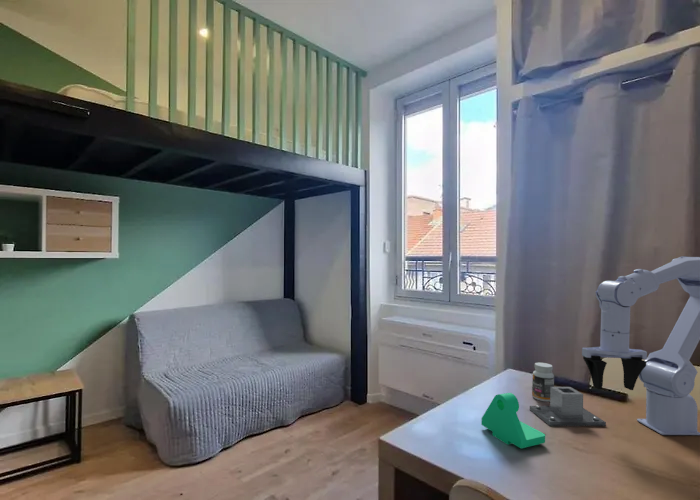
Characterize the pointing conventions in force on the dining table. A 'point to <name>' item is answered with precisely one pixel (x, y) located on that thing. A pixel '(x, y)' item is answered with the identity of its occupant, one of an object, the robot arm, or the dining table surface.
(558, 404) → the grey square socket
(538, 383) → the pill bottle
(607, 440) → the dining table surface
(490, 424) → the camera mount
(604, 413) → the dining table surface
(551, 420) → the dark grey mounting plate
